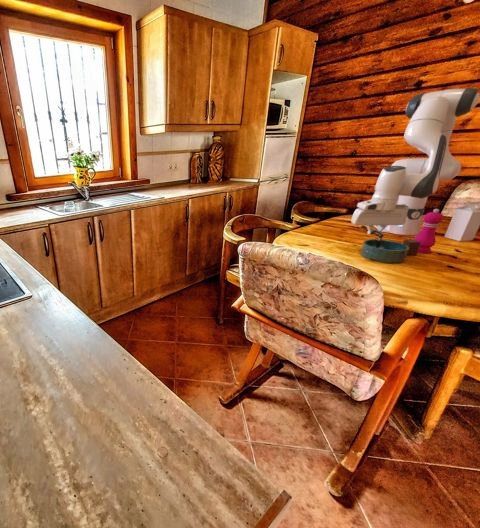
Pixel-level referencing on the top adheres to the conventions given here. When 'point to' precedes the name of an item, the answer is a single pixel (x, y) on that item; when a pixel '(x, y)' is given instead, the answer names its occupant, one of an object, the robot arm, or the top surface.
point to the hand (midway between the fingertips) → (373, 234)
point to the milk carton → (464, 222)
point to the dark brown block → (412, 246)
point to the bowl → (385, 251)
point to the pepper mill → (429, 231)
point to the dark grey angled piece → (376, 235)
